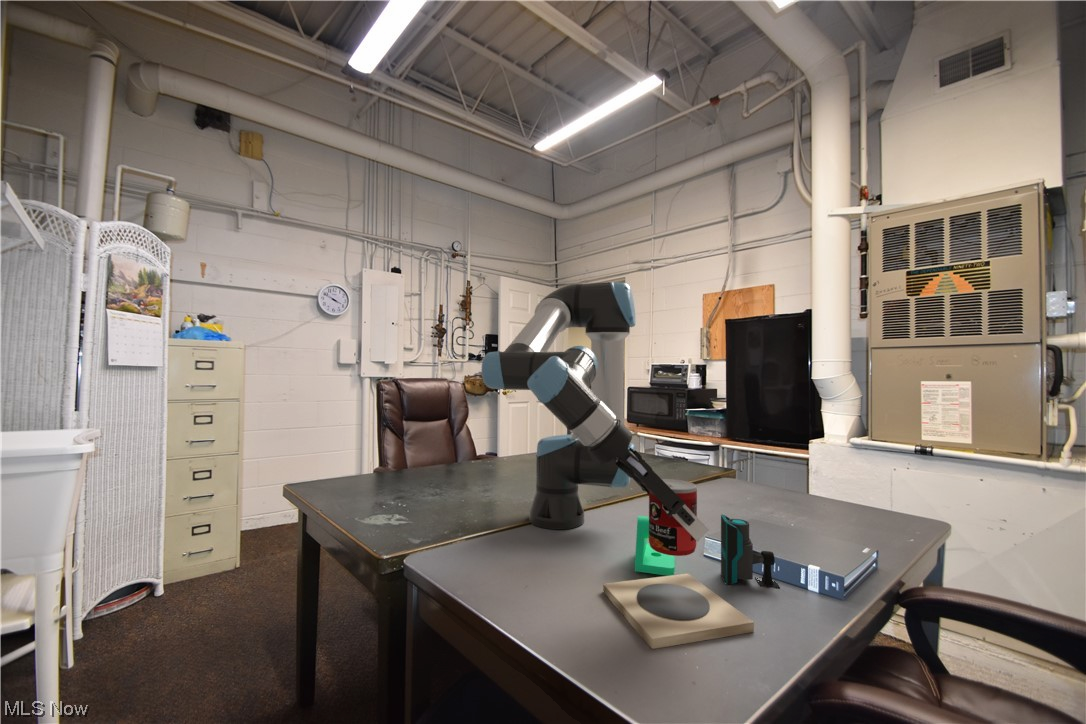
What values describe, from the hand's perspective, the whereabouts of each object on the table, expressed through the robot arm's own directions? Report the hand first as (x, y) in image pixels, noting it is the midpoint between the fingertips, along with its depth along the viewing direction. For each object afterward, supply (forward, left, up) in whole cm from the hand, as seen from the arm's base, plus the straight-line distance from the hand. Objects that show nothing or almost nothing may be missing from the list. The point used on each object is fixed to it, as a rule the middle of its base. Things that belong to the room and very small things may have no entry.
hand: (691, 526), depth 78 cm
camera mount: (-17, +3, -15) cm, 23 cm away
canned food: (-1, -3, -4) cm, 5 cm away
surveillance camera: (-7, +18, -15) cm, 24 cm away
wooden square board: (-1, -3, -14) cm, 15 cm away
